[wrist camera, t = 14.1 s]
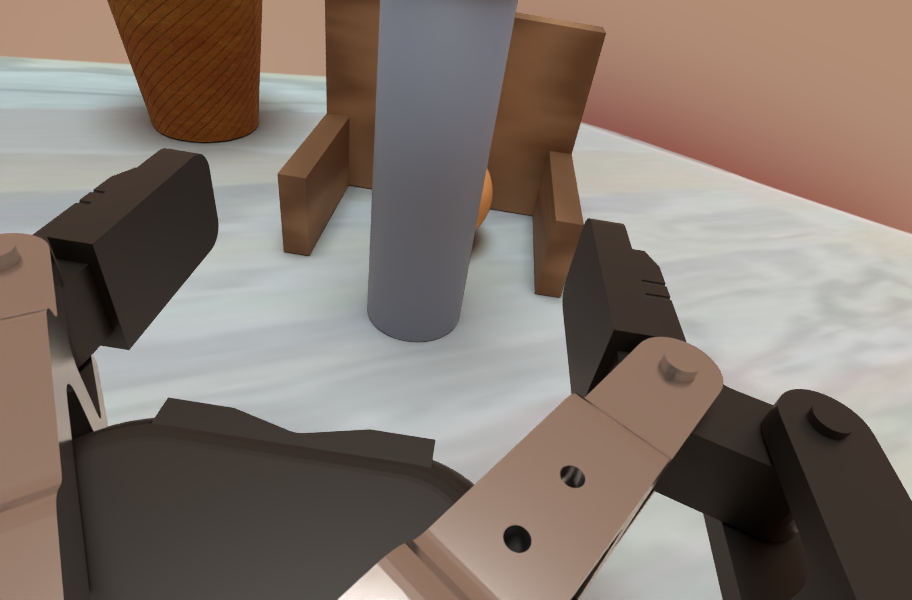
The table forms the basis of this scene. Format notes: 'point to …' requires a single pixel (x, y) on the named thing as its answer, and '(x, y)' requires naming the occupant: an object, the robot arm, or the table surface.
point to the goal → (513, 144)
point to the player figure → (431, 155)
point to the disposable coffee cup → (195, 64)
